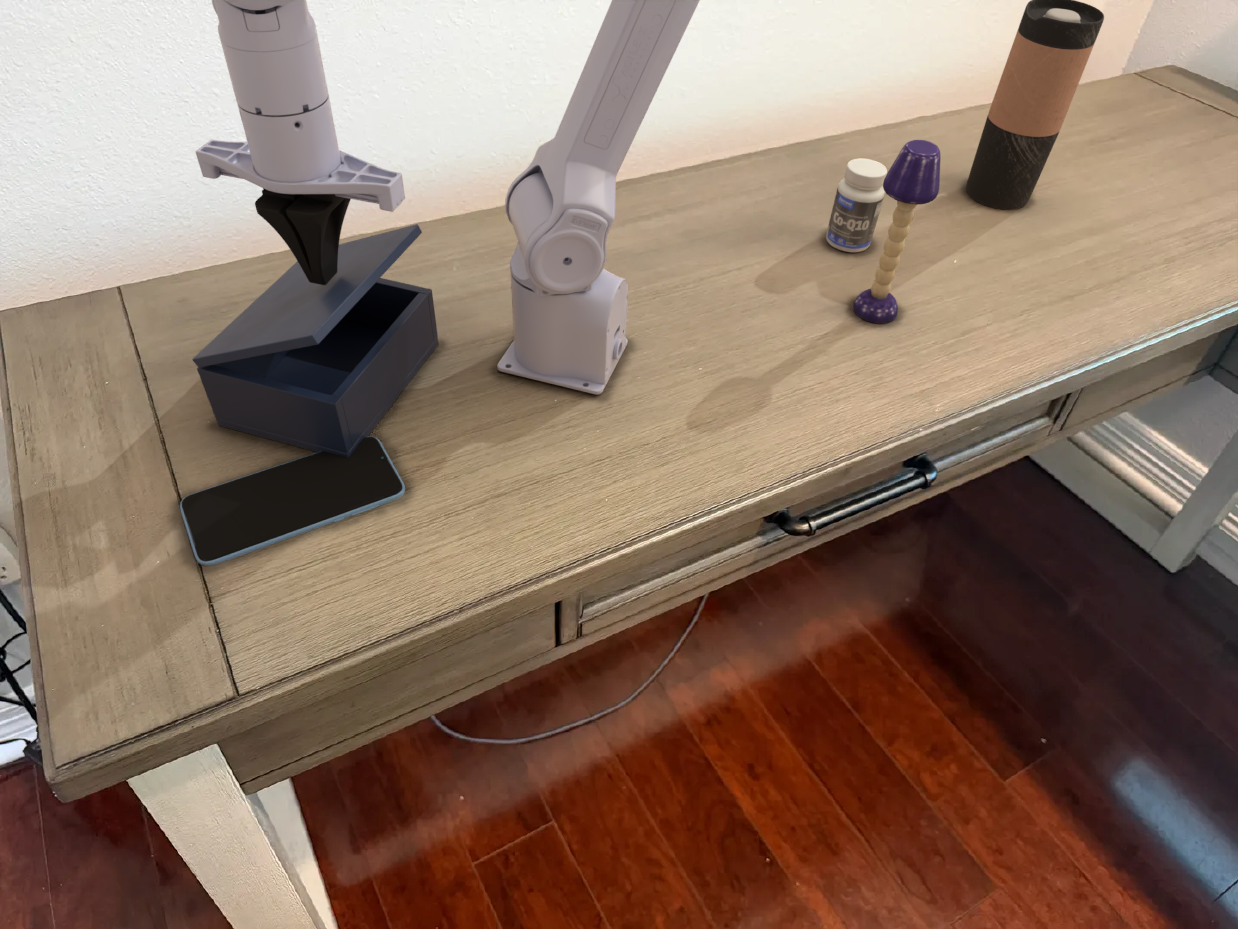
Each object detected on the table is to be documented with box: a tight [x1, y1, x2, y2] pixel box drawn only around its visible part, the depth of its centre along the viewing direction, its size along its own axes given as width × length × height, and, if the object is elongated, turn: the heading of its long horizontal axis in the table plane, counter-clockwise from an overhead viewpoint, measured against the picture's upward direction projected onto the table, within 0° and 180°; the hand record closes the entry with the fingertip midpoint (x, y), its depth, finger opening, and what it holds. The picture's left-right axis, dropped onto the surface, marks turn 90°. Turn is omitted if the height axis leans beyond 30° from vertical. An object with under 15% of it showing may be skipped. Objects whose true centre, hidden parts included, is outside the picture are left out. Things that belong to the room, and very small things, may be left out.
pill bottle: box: [825, 157, 888, 253], centre depth 91 cm, size 5×5×8 cm
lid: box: [192, 223, 423, 368], centre depth 68 cm, size 12×16×1 cm
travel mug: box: [965, 0, 1105, 210], centre depth 96 cm, size 8×8×20 cm
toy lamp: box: [852, 139, 941, 324], centre depth 79 cm, size 5×5×17 cm
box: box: [196, 277, 439, 457], centre depth 73 cm, size 12×16×6 cm
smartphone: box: [179, 435, 406, 567], centre depth 66 cm, size 7×1×15 cm
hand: (323, 276), depth 67 cm, fingers closed
